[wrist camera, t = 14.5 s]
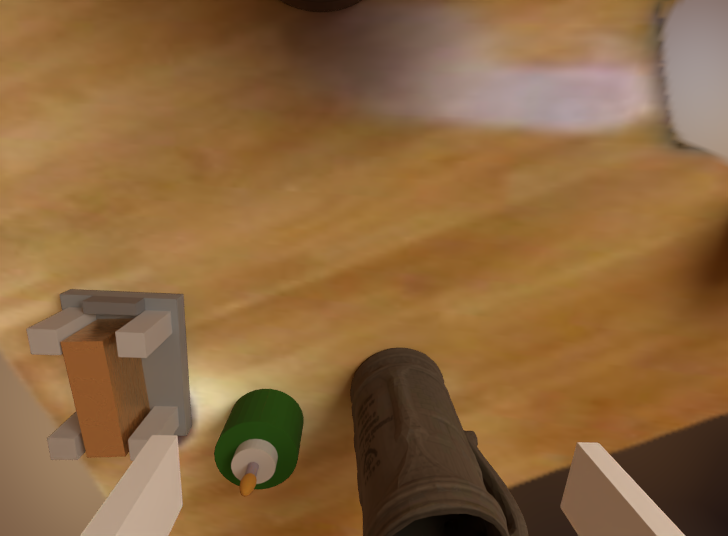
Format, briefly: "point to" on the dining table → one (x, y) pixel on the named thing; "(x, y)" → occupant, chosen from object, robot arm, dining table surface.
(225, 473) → the candle
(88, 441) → the block
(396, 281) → the dining table surface
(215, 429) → the dining table surface
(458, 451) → the beer stein
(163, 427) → the jig
